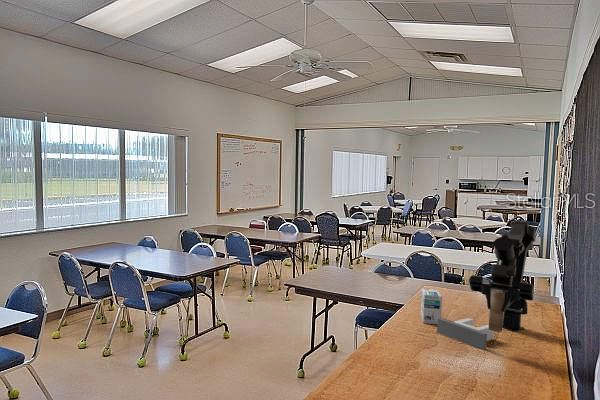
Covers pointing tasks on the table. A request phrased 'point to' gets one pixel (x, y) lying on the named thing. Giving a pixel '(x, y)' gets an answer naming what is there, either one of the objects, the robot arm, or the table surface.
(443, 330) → the backstop wall
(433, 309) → the light bulb box
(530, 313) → the table surface
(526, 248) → the robot arm
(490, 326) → the dowel
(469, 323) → the socket block
